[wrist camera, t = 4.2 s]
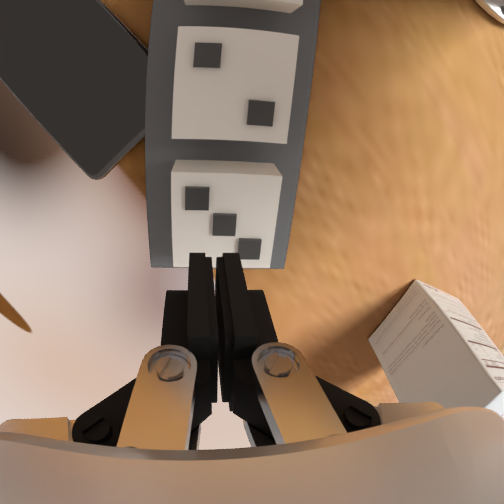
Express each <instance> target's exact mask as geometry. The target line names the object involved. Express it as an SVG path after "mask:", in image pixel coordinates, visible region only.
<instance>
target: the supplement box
mask: <svg viewBox="0 0 504 504" xmlns="http://www.w3.org/2000/svg"><path fill="white" fill-rule="evenodd" d="M368 341H369V342H370V344H371V346H372V348H373V350H374V352H375V354H376V356H377V358H378V360H379V362H380V364H381V366H382V368H383V370H384V372H385V374H386V376H387V378H388V380H389V382H390V384H391V386H392V388H393V390H394V392H395V394H396V396H397V398H398V401H399V403H413V402H436V403H438V404H440V405H442V406H443V407H444V408H451V407H463V406H468V407H481V408H487V409H490V410H493V411H495V412H497V413H498V414H500V415H501V416H503V415H504V356H503V355H502V354H501V352H500V351H499V350H498V348H497V347H496V346H495V344H494V343H493V342H492V340H491V339H490V338H489V336H488V335H487V334H486V332H485V331H484V330H483V329H482V327H481V326H480V325H479V324H478V322H477V321H476V320H475V318H474V317H473V316H472V315H471V313H470V312H469V311H468V310H467V308H466V307H465V306H464V305H463V304H462V303H461V301H460V300H459V299H458V298H456V297H454V296H452V295H450V294H447V293H445V292H443V291H441V290H439V289H437V288H435V287H432V286H430V285H428V284H426V283H423V282H421V281H419V280H416V279H415V280H414V282H413V283H412V284H411V286H410V287H409V289H408V290H407V291H406V293H405V294H404V295H403V297H402V298H401V299H400V301H399V302H398V303H397V304H396V306H395V307H394V308H393V310H392V311H391V312H390V313H389V315H388V316H387V317H386V318H385V320H384V321H383V322H382V323H381V324H380V326H379V327H378V328H377V329H376V330H375V332H374V333H373V334H372V335H371V336H370V338H369V339H368Z"/></svg>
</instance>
